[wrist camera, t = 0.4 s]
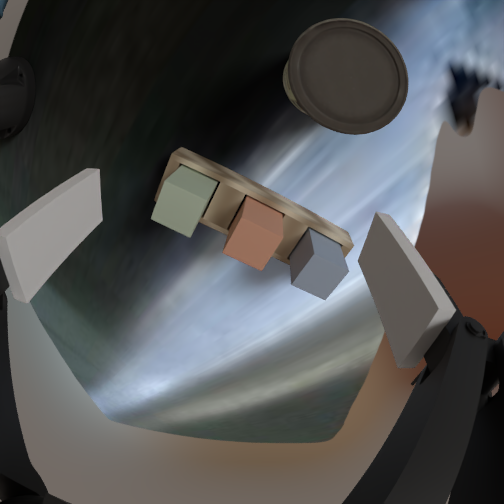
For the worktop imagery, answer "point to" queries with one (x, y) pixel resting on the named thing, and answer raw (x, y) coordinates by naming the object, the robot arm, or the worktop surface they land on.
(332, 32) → the coffee can
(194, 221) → the sage block
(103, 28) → the worktop surface
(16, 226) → the robot arm
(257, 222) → the terracotta block
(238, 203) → the socket rail
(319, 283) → the slate block
